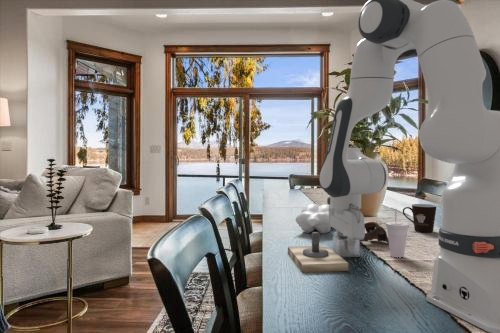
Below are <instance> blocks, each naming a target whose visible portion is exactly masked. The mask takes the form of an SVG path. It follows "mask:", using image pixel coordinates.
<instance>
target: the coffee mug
mask: <svg viewBox="0 0 500 333" xmlns="http://www.w3.org/2000/svg"><path fill="white" fill-rule="evenodd" d="M437 208H438V207H437V205H435V204H429V203H428V204H427V203H413V204H412V203H411V207H410V206H405V207H404V208H402V215H403V216H404V217H405V218H406V219H407V220H408V221H410V222H411V223H412V224H413V228H414V231H415V232H417V233H421V234H430V233H433V232H434V227H435V221H436V212H437ZM406 209H409V210H410V211H411V212H412V218H413V219H411V218H410V217H408V216H407V215H406V214H405V210H406Z"/></svg>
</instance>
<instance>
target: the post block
mask: <svg viewBox="0 0 500 333" xmlns="http://www.w3.org/2000/svg"><path fill="white" fill-rule="evenodd" d="M287 254H288V256H289V257H290V258H291V259H292V261H293V262H294V263H295V265H296V267H297V268H298V269H299V270H300V271H301V272H302V273H317V272H319V273H320V272H321V273H323V272H343V271H344V272H345V271H347V272H348V271H349V262H347V261H346V260H345V259H344V257H340V256H339V255H338V254H336V253H335V252H334V251H333V249H331V247H329V246H328V245H320V232H318V231H312V232H311V245H304V246H303V245H302V246H300V245H297V246H295V245H294V246H288V247H287Z"/></svg>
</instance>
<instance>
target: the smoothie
mask: <svg viewBox="0 0 500 333" xmlns="http://www.w3.org/2000/svg"><path fill="white" fill-rule="evenodd" d="M385 227H386V234H387V237H388V241H389V245H388V248H389V249H388V250H389V256H390V257H391V256H392V257H391V258H394V257H397V258H396V259H402V258H401V257H403V258H404V257H405V251H406V246H407V238H408V231H409V228H410V224H409V223H408V222H404V221H398V208H394V221H387V222H385ZM398 257H399V258H398Z"/></svg>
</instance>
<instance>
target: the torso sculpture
mask: <svg viewBox="0 0 500 333" xmlns="http://www.w3.org/2000/svg"><path fill="white" fill-rule="evenodd" d="M328 208H329V205H328V204H327V203H325V204H321V205H319V204H316V203H309V204H307V205H306V206H304V207H303V208H302V209H301V212H300V213H299V214H298V215H296V218H295V222H296V224H298V226H299V227H300V228H301V230H302V231H303V232H304V233H307V234H308V233H309V234H310V233H312V232H315V230H317V232H318V233H319V234H328V233H329V232H330V231H331V228H332V227H331V226H330V223H329V211H328Z"/></svg>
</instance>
